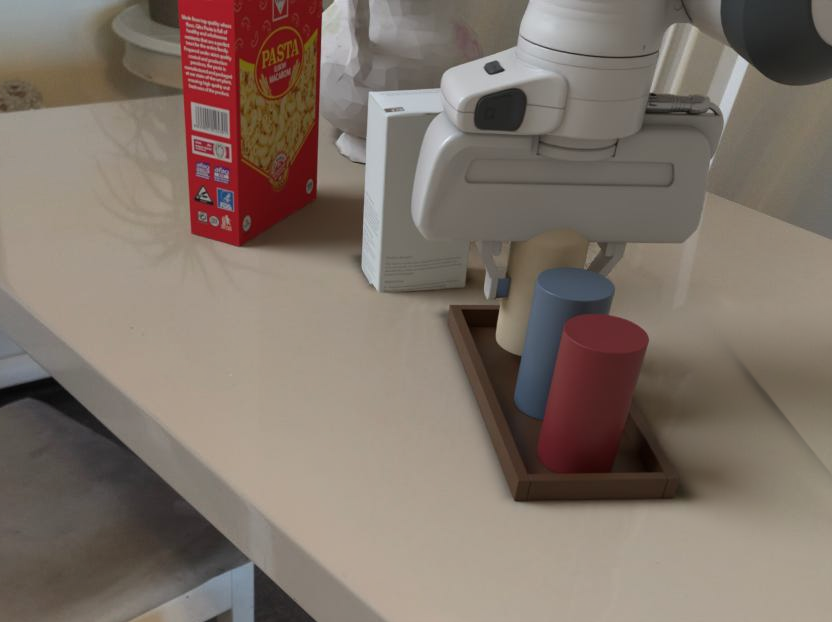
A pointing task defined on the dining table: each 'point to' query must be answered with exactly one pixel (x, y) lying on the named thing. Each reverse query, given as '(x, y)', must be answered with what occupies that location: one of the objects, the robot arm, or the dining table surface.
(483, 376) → the tray
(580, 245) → the candle
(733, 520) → the dining table surface
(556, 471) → the burgundy candle
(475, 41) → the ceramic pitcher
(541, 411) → the slate candle
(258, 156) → the food packaging
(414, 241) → the cosmetic box
